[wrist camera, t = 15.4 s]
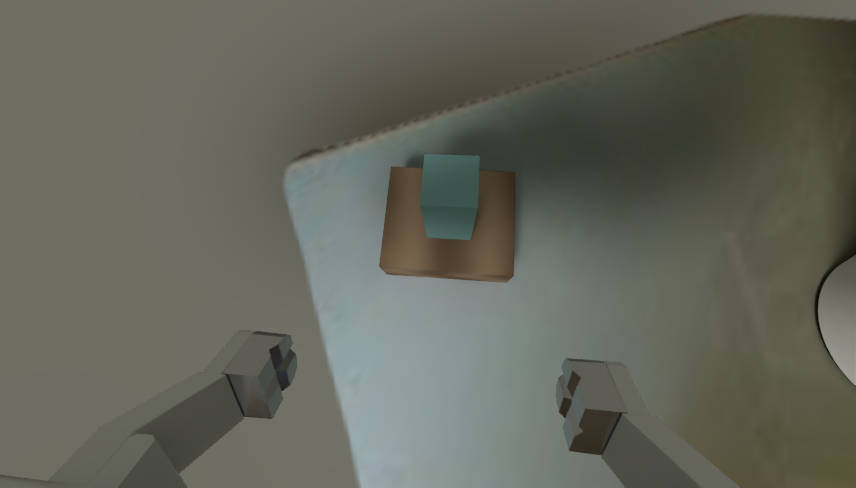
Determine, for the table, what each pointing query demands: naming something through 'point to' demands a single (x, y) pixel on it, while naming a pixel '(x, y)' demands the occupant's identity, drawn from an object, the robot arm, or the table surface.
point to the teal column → (449, 195)
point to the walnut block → (450, 257)
